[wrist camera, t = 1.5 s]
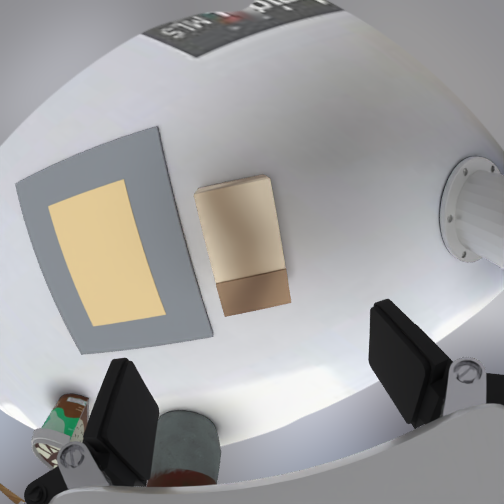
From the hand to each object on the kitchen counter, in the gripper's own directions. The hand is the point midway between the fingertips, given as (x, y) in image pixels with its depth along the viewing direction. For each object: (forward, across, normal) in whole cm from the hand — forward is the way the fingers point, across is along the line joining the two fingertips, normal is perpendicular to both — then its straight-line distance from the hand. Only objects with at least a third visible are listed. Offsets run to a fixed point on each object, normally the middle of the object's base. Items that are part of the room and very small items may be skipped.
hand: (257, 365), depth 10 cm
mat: (+16, +12, -1) cm, 20 cm away
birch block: (+16, -1, 0) cm, 16 cm away
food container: (+17, +29, +19) cm, 39 cm away
